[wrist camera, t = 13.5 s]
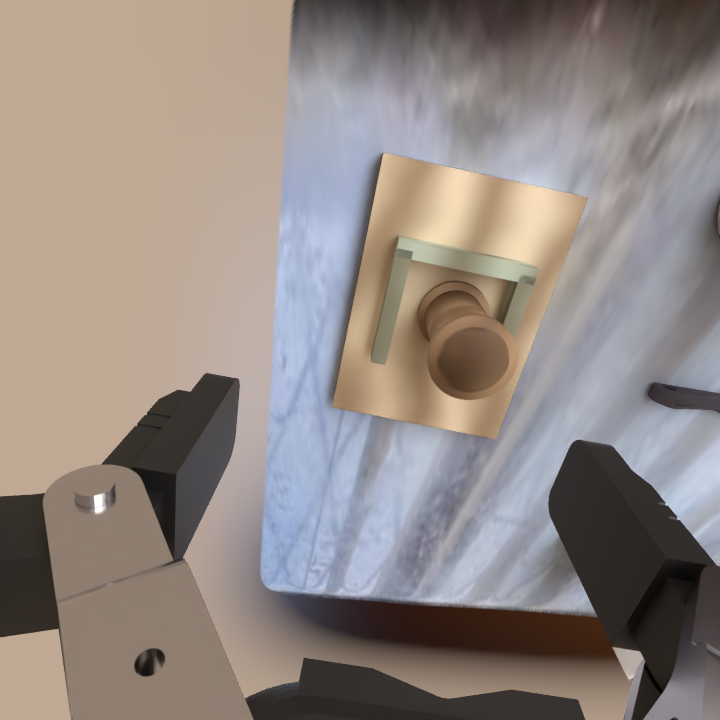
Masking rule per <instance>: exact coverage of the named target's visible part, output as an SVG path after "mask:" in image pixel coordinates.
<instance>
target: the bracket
mask: <svg viewBox="0 0 720 720" xmlns="http://www.w3.org/2000/svg"><path fill="white" fill-rule="evenodd" d="M649 397H650V398H651V399H652V400H653V401H655V402H657V403H659V404H661V405H664V406H666V407H669V408H673V409H703V410H716V411H718V412H720V393H714V392H708V391H702V390H696V389H690V388H684V387H678V386H672V385H666V384H660V383H654V384H653V386H652V388H651V391H650V393H649Z"/></svg>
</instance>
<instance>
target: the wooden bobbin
mask: <svg viewBox="0 0 720 720" xmlns="http://www.w3.org/2000/svg"><path fill="white" fill-rule="evenodd" d="M418 323H419V327H420V330H421V333H422V335H423V336H424V338H425V339H426V340H427V341H428V342H429V346H428V349H427V365H428V370H429V374H430V376H431V379H432V380H433V382H434V383H435V385H436V386H437V387H438V388H439V389H440V390H441V391H443V392H444V393H445V394H447V395H449V396H451V397H454V398H457V399H462V400H478V399H482V398H486V397H489V396H491V395H493V394H495V393H496V392H498V391H499V390H501V389H502V388H503V387H504V386H505V385H506V384H507V383H508V382H509V381H510V380H511V378H512V377H513V375H514V373H515V371H516V368H517V364H518V348H517V345H516V342H515V340H514V338H513V336H512V335H511V334H510V332H509V331H508V329H507V328H506V327H505V326H504V325H503V324H502V323H500V322H499V321H497V320H496V319H494V318H491V317H490V307H489V304H488V302H487V300H486V298H485V297H484V295H483V294H482V292H481V291H480V290H479V289H478V288H476V287H475V286H473V285H472V284H470V283H467V282H464V281H447V282H443V283H441V284H438V285H437V286H435V287H433V288H432V289H431V290H430V291H428V292H427V294H426V295H425V296H424V298H423V299H422V301H421V303H420V306H419V309H418Z"/></svg>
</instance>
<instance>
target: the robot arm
mask: <svg viewBox="0 0 720 720" xmlns="http://www.w3.org/2000/svg"><path fill="white" fill-rule="evenodd" d="M717 218H718V231H719V235H720V206H719V211H718V217H717ZM239 388H240V384H239V379H237V378H231V377H226V376H220V375H214V374H209V373H206V374H204V375H203V377H202V378H201V379H200V381H199V382H198V383H197V384H196V386H195V387H194V388H193V389H192V391H191V392H187V391H182V390H177V391H175V392H173V393H171V394H169V395H167V396H165V397H163V398H161V399H159V400H158V401H157V402H156V403H155V404H154V405H153V407H152V408H151V409H150V410H149V411H148V412H147V415H145V416H144V417H143V418H142V419H141V420H140V421H139V422H138V424H137V426H135V427H134V428H133V429H132V430H131V431H130V433H129V434H128V435H127V436H126V437H125V438H124V439H123V440H122V442H121V443H120V444H119V445H118V446H117V447H116V448H115V449H114V451H113V452H112V453H111V454H110V455H109V456H108V458H106V460H105V461H104V462H103V463H102V464H101V465H94V466H88V467H84V468H80V469H78V470H75V471H72V472H70V473H68V474H66V475H64V476H63V477H61V478H59V479H58V480H56V481H55V482H54V483H53V484H52V485H51V486H50V487H49V488H48V489H47V491H46V493H43V494H35V495H19V496H2V497H0V637H6V636H12V635H19V634H26V633H33V632H39V631H46V630H52V629H59V635H60V641H61V649H62V656H63V664H64V672H65V679H66V686H67V693H68V700H69V708H70V716H71V720H585V718H584V715H583V712H582V710H581V707H580V705H579V701H578V700H576V699H569V698H563V697H556V696H550V695H543V694H537V693H530V692H524V691H516V690H506V691H500V692H493V693H486V694H480V695H472V696H466V697H460V698H453V699H446V698H441V697H438V696H436V695H433V694H431V693H428V692H426V691H424V690H422V689H419V688H417V687H415V686H412V685H410V684H408V683H405V682H403V681H401V680H398V679H396V678H394V677H391V676H389V675H386V674H384V673H382V672H380V671H377V670H375V669H373V668H367V667H360V666H354V665H347V664H341V663H334V662H328V661H321V660H315V659H308V658H304V659H303V665H302V669H301V674H300V679H299V682H295V683H288V684H282V685H279V686H275V687H272V688H268V689H265V690H263V691H260V692H258V693H256V694H253V695H251V696H249V697H247V698H244V695H243V693H242V691H241V689H240V686H239V684H238V681H237V679H236V677H235V674H234V672H233V669H232V667H231V664H230V663H229V660H228V658H227V655H226V653H225V650H224V648H223V645H222V643H221V641H220V639H219V636H218V634H217V631H216V629H215V626H214V624H213V622H212V619H211V617H210V614H209V612H208V610H207V607H206V605H205V603H204V600H203V598H202V595H201V593H200V590H199V588H198V586H197V584H196V581H195V579H194V576H193V574H192V571H191V569H190V567H189V565H188V563H187V562H186V561H185V559H183V556H184V554H185V552H186V550H187V548H188V546H189V543H190V542H191V539H192V537H193V535H194V533H195V531H196V529H197V527H198V525H199V523H200V521H201V519H202V517H203V514H204V512H205V510H206V508H207V506H208V504H209V502H210V500H211V498H212V496H213V494H214V492H215V490H216V488H217V485H218V483H219V481H220V479H221V477H222V475H223V473H224V471H225V469H226V467H227V465H228V462H229V460H230V458H231V455H232V451H233V446H234V442H235V434H236V424H237V412H238V400H239ZM549 513H550V517H551V519H552V521H553V523H554V525H555V528H556V530H557V532H558V534H559V536H560V538H561V540H562V542H563V545H564V547H565V549H566V551H567V553H568V555H569V557H570V559H571V562H572V564H573V566H574V568H575V570H576V572H577V574H578V576H579V578H580V581H581V583H582V585H583V587H584V589H585V591H586V593H587V595H588V598H589V600H590V602H591V604H592V606H593V608H594V610H595V612H596V614H597V617H598V619H599V621H600V623H601V625H602V627H603V629H604V631H605V633H606V636H607V638H608V640H609V642H610V644H611V646H612V647H615V648H622V649H628V650H634V651H640V652H641V654H642V656H643V660H642V661H641V663H640V664H639V666H638V667H637V669H636V671H635V675H634V679H633V683H632V687H631V691H630V695H629V699H628V703H627V707H626V711H625V715H624V719H623V720H720V566H717V565H716V564H715V563H714V561H713V560H712V559H711V558H710V557H709V555H708V554H707V553H706V552H705V550H704V549H703V548H702V547H701V546H700V544H699V543H698V542H697V541H696V539H695V538H694V537H693V536H692V535H691V533H690V532H689V531H688V530H687V528H686V527H685V526H684V525H683V524H682V522H681V521H680V520H677V516H676V515H675V514H674V513H673V511H672V510H671V509H670V508H669V506H665V502H664V500H663V499H662V498H661V497H660V495H659V494H658V493H657V492H656V491H655V489H654V488H653V487H652V486H651V485H650V484H649V483H647V482H646V481H645V480H644V479H642V478H641V477H640V476H638V475H637V474H636V473H635V472H633V471H632V470H631V469H630V467H629V466H628V465H627V464H626V462H625V461H624V460H623V458H622V457H621V456H620V455H619V453H618V452H617V451H616V450H615V449H614V448H613V447H612V446H611V445H606V444H601V443H595V442H589V441H584V440H576V441H574V442H573V443H572V445H571V446H570V448H569V450H568V452H567V455H566V457H565V459H564V461H563V464H562V466H561V468H560V470H559V473H558V475H557V477H556V480H555V482H554V484H553V486H552V489H551V491H550V495H549Z"/></svg>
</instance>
